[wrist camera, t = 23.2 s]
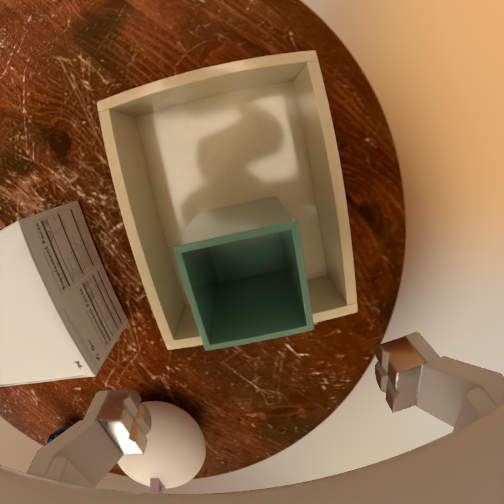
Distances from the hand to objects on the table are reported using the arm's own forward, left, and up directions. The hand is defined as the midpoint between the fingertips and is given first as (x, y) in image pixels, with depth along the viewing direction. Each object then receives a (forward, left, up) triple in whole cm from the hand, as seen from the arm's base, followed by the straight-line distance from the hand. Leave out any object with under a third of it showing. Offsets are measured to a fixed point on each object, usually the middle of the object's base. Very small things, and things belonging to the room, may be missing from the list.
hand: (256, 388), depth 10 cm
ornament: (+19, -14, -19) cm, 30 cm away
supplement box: (0, -22, -19) cm, 29 cm away
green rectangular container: (+4, 0, -17) cm, 17 cm away
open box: (-4, 0, -19) cm, 19 cm away
